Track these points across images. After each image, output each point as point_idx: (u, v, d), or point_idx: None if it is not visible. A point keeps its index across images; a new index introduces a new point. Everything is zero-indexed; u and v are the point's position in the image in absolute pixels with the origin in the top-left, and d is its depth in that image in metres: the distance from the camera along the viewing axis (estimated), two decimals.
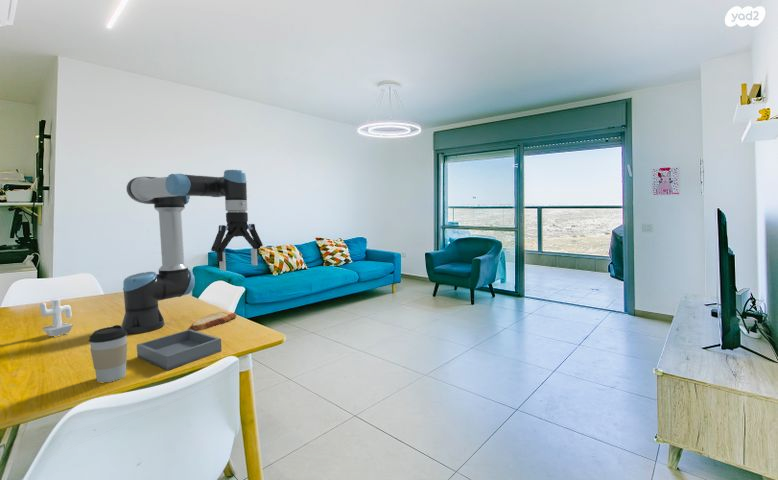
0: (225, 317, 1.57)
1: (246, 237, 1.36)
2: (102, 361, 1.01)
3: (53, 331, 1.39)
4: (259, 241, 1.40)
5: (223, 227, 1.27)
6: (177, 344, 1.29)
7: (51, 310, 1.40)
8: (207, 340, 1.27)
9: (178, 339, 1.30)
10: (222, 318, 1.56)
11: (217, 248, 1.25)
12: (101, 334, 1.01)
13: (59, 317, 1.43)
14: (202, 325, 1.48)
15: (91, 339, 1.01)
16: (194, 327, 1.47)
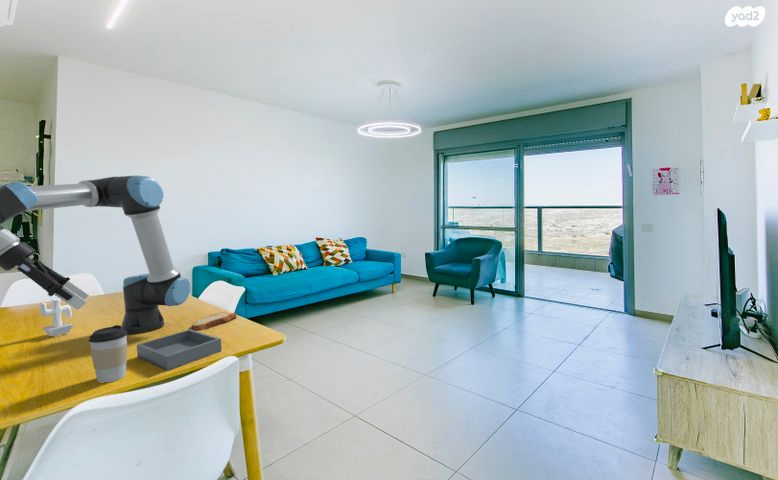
0: (226, 317, 1.57)
1: None
2: (102, 361, 1.01)
3: (53, 331, 1.39)
4: None
5: None
6: (177, 344, 1.29)
7: (51, 310, 1.40)
8: (207, 340, 1.27)
9: (178, 339, 1.30)
10: (223, 318, 1.56)
11: None
12: (101, 334, 1.01)
13: (59, 317, 1.43)
14: (203, 325, 1.48)
15: (91, 339, 1.01)
16: (195, 327, 1.47)
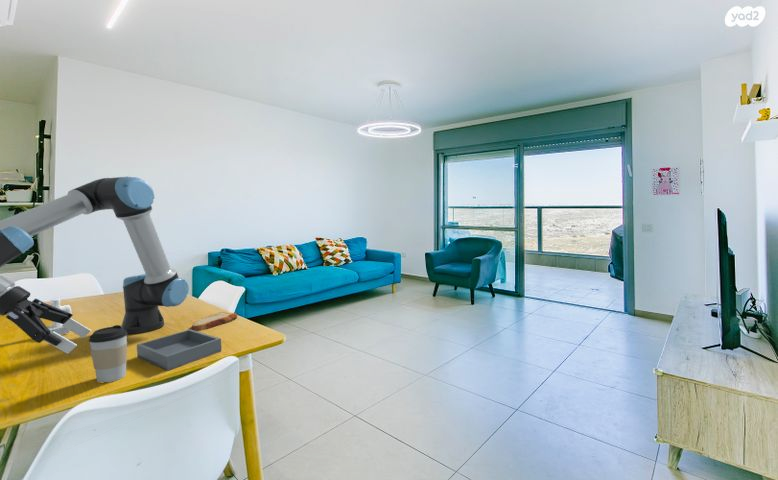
0: (226, 317, 1.57)
1: None
2: (102, 361, 1.01)
3: None
4: None
5: None
6: (177, 344, 1.29)
7: None
8: (207, 340, 1.27)
9: (178, 339, 1.30)
10: (223, 318, 1.55)
11: None
12: (101, 334, 1.01)
13: None
14: (202, 325, 1.48)
15: (91, 339, 1.01)
16: (194, 327, 1.47)
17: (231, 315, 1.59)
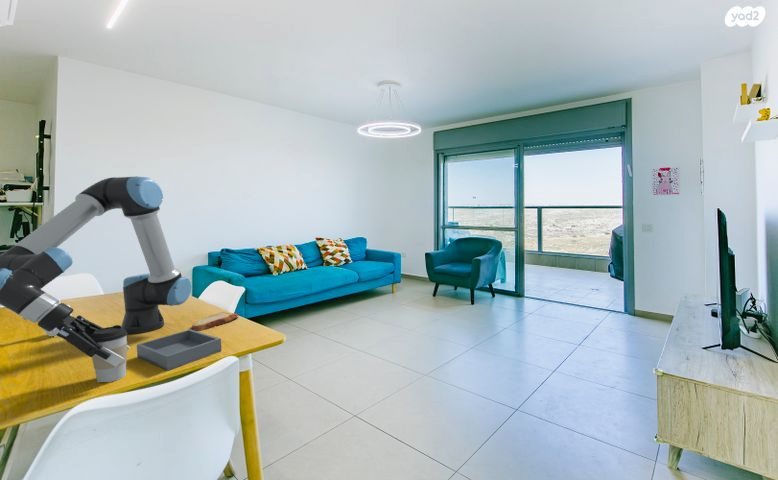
0: (226, 318, 1.56)
1: None
2: (102, 361, 1.01)
3: (53, 331, 1.39)
4: None
5: None
6: (177, 344, 1.29)
7: None
8: (207, 340, 1.27)
9: (178, 339, 1.30)
10: (223, 319, 1.55)
11: None
12: (101, 334, 1.01)
13: None
14: (202, 326, 1.48)
15: None
16: (194, 327, 1.47)
17: (231, 315, 1.59)
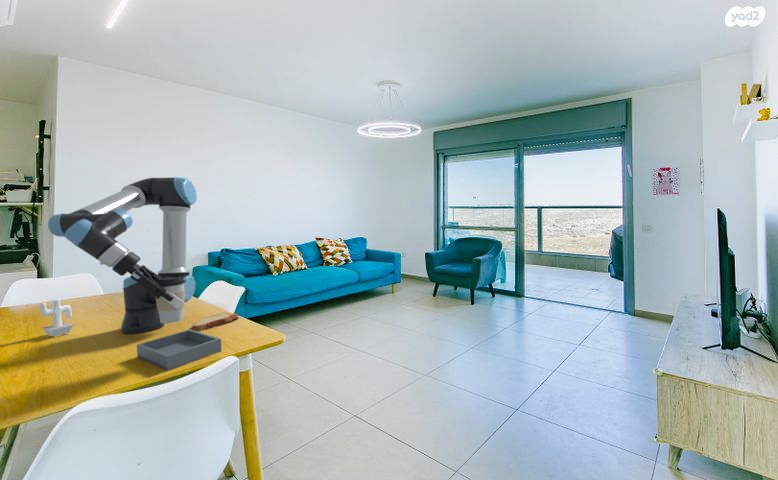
0: (226, 318, 1.56)
1: None
2: (165, 304, 1.15)
3: (53, 331, 1.39)
4: None
5: None
6: (177, 344, 1.29)
7: (51, 310, 1.40)
8: (207, 340, 1.27)
9: (178, 339, 1.30)
10: (223, 319, 1.55)
11: None
12: (164, 280, 1.15)
13: (59, 317, 1.43)
14: (202, 326, 1.47)
15: None
16: (194, 328, 1.47)
17: (232, 316, 1.59)
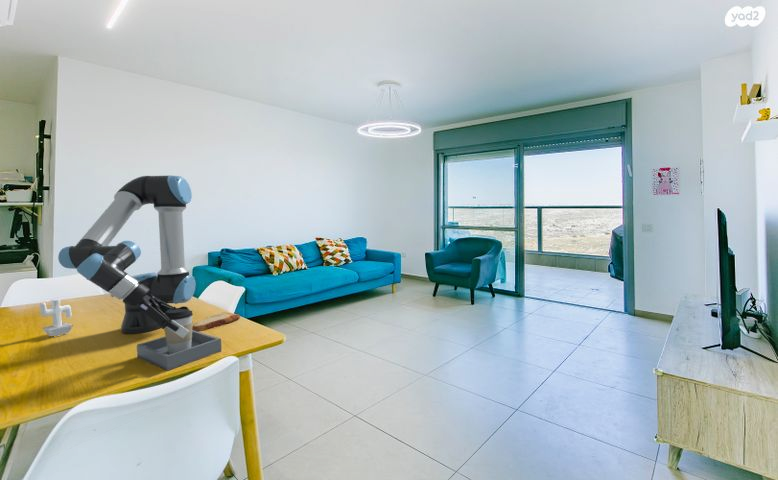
0: (227, 318, 1.55)
1: None
2: (174, 336, 1.18)
3: (53, 331, 1.39)
4: None
5: None
6: None
7: (51, 310, 1.40)
8: (207, 340, 1.27)
9: None
10: (223, 319, 1.54)
11: None
12: (173, 313, 1.18)
13: (59, 317, 1.43)
14: (202, 326, 1.47)
15: None
16: (194, 328, 1.46)
17: (232, 316, 1.58)
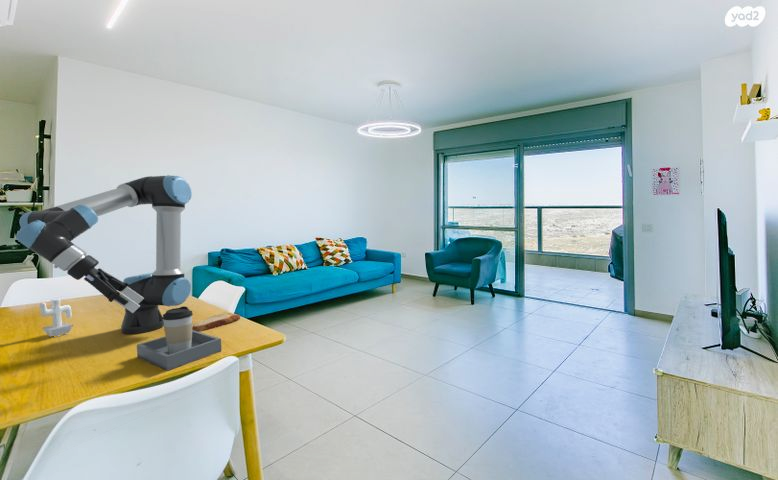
0: (227, 318, 1.55)
1: None
2: (174, 336, 1.18)
3: (53, 331, 1.39)
4: None
5: None
6: None
7: (51, 310, 1.40)
8: (207, 340, 1.27)
9: None
10: (223, 319, 1.54)
11: None
12: (173, 313, 1.18)
13: (59, 317, 1.43)
14: (202, 326, 1.47)
15: (165, 317, 1.18)
16: (194, 328, 1.46)
17: (233, 316, 1.58)
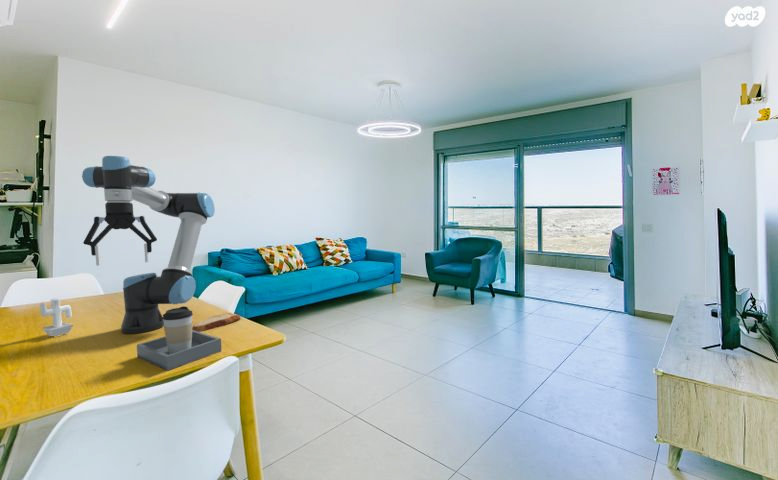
0: (227, 319, 1.54)
1: (133, 230, 1.23)
2: (174, 336, 1.18)
3: (53, 331, 1.39)
4: (151, 235, 1.25)
5: (95, 218, 1.17)
6: None
7: (51, 310, 1.40)
8: (207, 340, 1.27)
9: None
10: (224, 320, 1.53)
11: (86, 241, 1.16)
12: (173, 313, 1.18)
13: (59, 317, 1.43)
14: (202, 326, 1.46)
15: (165, 317, 1.18)
16: (194, 328, 1.46)
17: (233, 317, 1.57)
